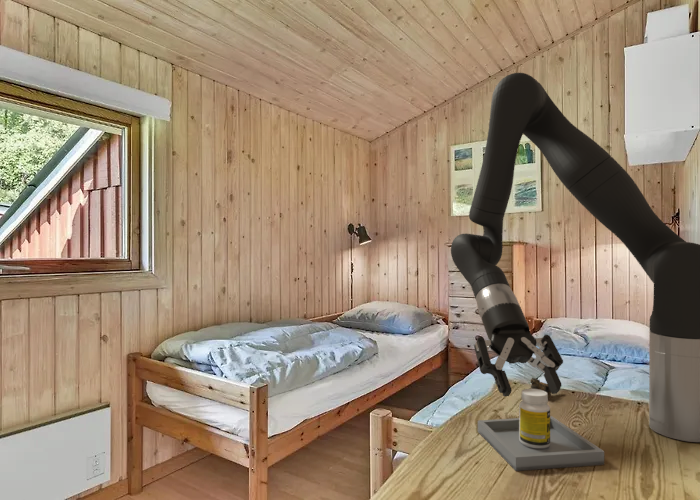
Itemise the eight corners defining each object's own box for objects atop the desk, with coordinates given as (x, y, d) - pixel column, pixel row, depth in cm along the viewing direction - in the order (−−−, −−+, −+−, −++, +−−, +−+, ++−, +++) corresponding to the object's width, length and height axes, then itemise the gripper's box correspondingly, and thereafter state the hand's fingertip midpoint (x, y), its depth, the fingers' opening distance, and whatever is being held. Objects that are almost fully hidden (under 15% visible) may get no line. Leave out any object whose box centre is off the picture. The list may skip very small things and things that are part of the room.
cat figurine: (524, 395, 99) (527, 376, 99) (551, 397, 102) (554, 379, 102) (533, 399, 96) (536, 379, 97) (561, 401, 99) (564, 383, 100)
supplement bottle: (553, 450, 72) (553, 397, 72) (522, 448, 73) (521, 395, 73) (546, 438, 77) (546, 388, 77) (517, 436, 78) (516, 386, 78)
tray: (552, 427, 83) (552, 416, 83) (604, 464, 69) (604, 451, 69) (477, 431, 81) (477, 420, 81) (515, 470, 67) (515, 457, 67)
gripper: (470, 302, 83) (498, 384, 72) (543, 300, 85) (582, 379, 74) (459, 326, 89) (484, 405, 78) (529, 323, 90) (563, 401, 79)
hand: (532, 392), depth 76 cm, fingers open, 8 cm apart
